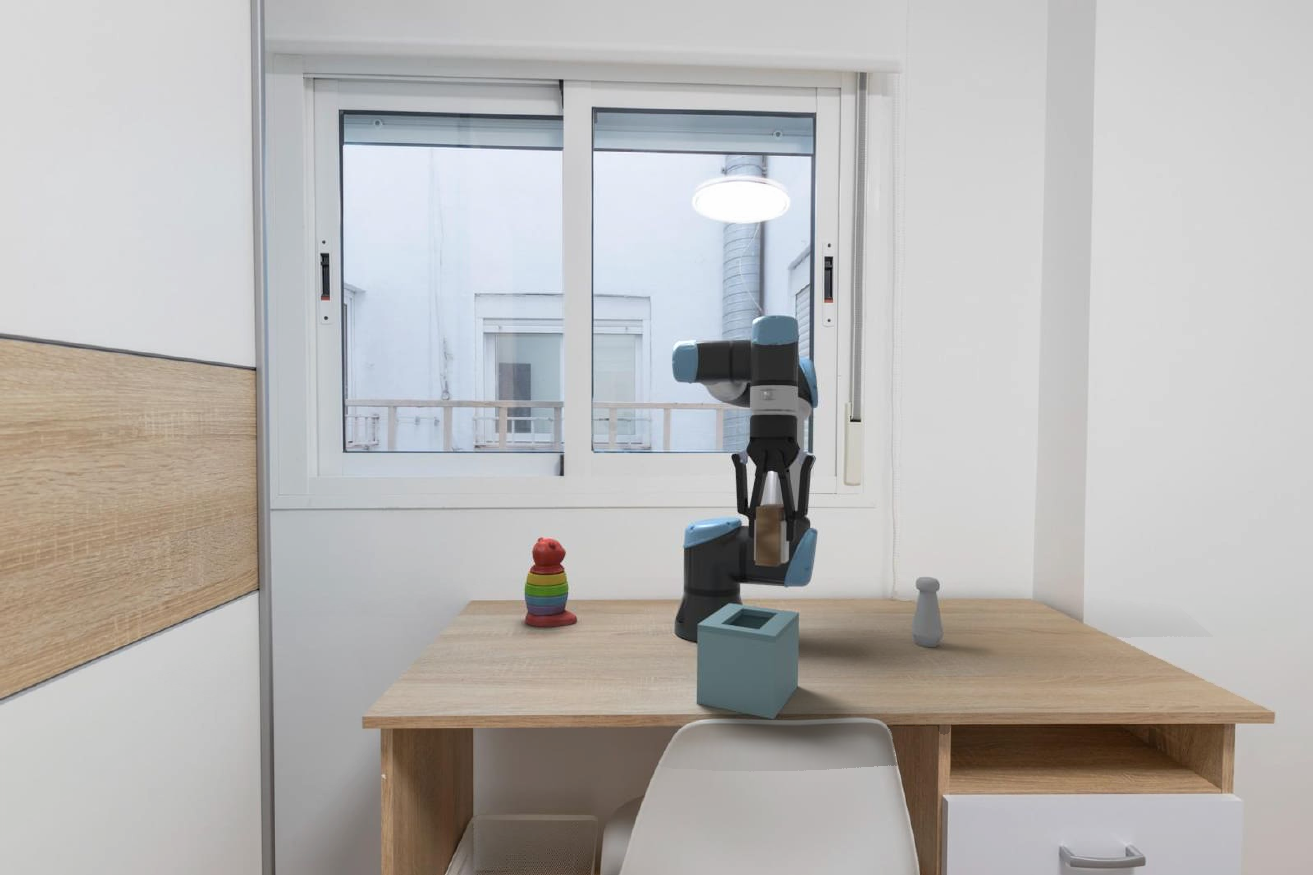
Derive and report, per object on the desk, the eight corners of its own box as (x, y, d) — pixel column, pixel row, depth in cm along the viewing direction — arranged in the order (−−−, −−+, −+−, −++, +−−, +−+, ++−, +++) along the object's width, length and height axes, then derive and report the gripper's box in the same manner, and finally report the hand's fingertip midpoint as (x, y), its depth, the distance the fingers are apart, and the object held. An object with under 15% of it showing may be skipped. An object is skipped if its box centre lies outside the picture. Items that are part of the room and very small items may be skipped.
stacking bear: (580, 623, 141) (581, 540, 141) (536, 630, 135) (537, 544, 135) (558, 611, 150) (559, 533, 150) (516, 618, 144) (516, 536, 144)
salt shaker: (945, 649, 126) (946, 582, 126) (914, 647, 127) (915, 580, 127) (938, 640, 132) (940, 575, 132) (908, 638, 133) (909, 574, 133)
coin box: (696, 703, 100) (697, 624, 100) (728, 673, 112) (729, 603, 112) (773, 719, 95) (774, 636, 95) (797, 686, 107) (798, 612, 107)
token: (755, 564, 103) (756, 507, 103) (766, 557, 109) (767, 503, 109) (777, 567, 101) (778, 508, 101) (787, 559, 108) (788, 504, 108)
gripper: (716, 413, 105) (714, 559, 105) (822, 412, 99) (819, 569, 99) (730, 414, 112) (728, 552, 112) (830, 414, 105) (828, 561, 105)
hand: (771, 560), depth 105 cm, fingers closed on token, 3 cm apart
